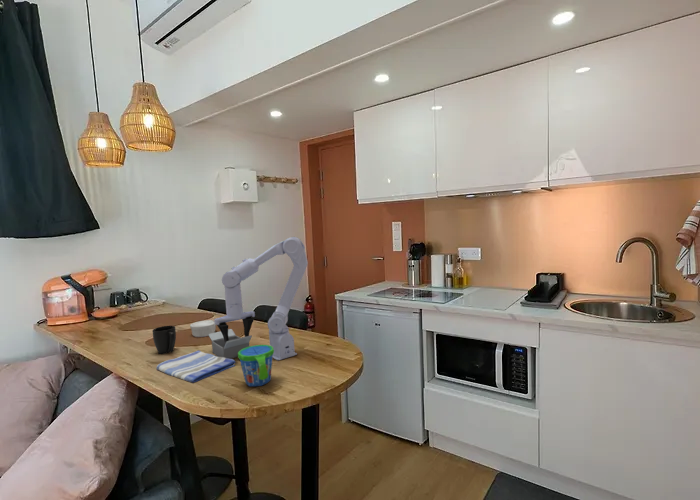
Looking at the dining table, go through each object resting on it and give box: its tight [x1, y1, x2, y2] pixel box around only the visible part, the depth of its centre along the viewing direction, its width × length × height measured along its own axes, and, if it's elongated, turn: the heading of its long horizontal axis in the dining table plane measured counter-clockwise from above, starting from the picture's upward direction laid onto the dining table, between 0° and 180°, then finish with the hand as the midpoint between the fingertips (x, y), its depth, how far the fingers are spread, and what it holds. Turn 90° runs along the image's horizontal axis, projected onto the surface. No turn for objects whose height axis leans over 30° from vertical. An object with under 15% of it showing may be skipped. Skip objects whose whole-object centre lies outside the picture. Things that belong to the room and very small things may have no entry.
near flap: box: [224, 334, 253, 349], centre depth 135 cm, size 4×9×1 cm
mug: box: [152, 325, 177, 355], centre depth 146 cm, size 8×12×10 cm
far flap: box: [207, 328, 237, 342], centre depth 147 cm, size 4×9×1 cm, turn 130°
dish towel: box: [156, 350, 236, 383], centre depth 128 cm, size 17×24×3 cm
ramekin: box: [189, 319, 217, 338], centre depth 170 cm, size 11×11×5 cm
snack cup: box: [237, 344, 274, 387], centre depth 112 cm, size 16×10×10 cm
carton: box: [211, 335, 251, 359], centre depth 141 cm, size 12×10×4 cm
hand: (236, 339), depth 135 cm, fingers open, 7 cm apart
